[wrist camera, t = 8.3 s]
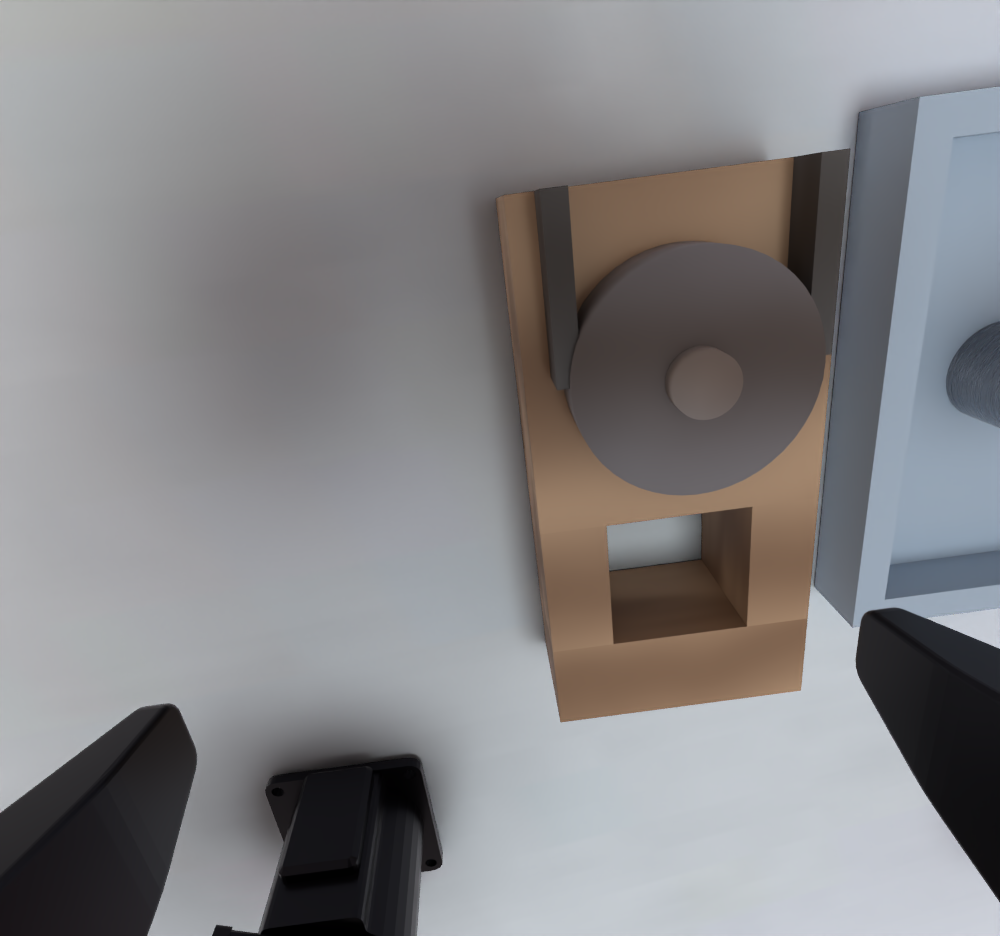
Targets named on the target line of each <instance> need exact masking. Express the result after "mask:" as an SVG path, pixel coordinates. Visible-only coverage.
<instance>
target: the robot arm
mask: <svg viewBox="0 0 1000 936" xmlns="http://www.w3.org/2000/svg"><path fill="white" fill-rule="evenodd" d="M856 669H857V673H858V676H859V678H860V680H861V682H862V684H863V686H864V688H865V690H866V691H867V693H868V695H869V697H870V698H871V700H872V702H873V704H874V706H875V707H876V709H877V711H878V713H879V714H880V716H881V718H882V720H883V722H884V723H885V725H886V727H887V729H888V730H889V732H890V734H891V736H892V738H893V739H894V741H895V743H896V745H897V746H898V748H899V750H900V752H901V754H902V755H903V757H904V759H905V761H906V762H907V764H908V766H909V768H910V770H911V771H912V773H913V775H914V776H915V778H916V780H917V781H918V783H919V785H920V786H921V788H922V790H923V791H924V793H925V794H926V796H927V797H928V799H929V800H930V802H931V803H932V805H933V806H934V808H935V809H936V811H937V812H938V814H939V815H940V817H941V818H942V820H943V821H944V823H945V824H946V825H947V827H948V828H949V830H950V831H951V833H952V834H953V835H954V837H955V838H956V840H957V841H958V843H959V844H960V846H961V847H962V848H963V850H964V851H965V853H966V854H967V856H968V857H969V859H970V860H971V861H972V863H973V864H974V866H975V867H976V869H977V870H978V872H979V873H980V874H981V876H982V877H983V879H984V880H985V882H986V883H987V884H988V886H989V887H990V889H991V890H992V892H993V893H994V895H995V896H996V897H997V899H998V900H999V902H1000V649H999V648H996V647H994V646H991V645H989V644H986V643H984V642H982V641H979V640H977V639H974V638H972V637H970V636H967V635H965V634H962V633H960V632H957V631H955V630H953V629H950V628H948V627H945V626H943V625H941V624H938V623H936V622H933V621H931V620H928V619H926V618H924V617H921V616H919V615H916V614H914V613H912V612H909V611H907V610H904V609H902V608H897V607H892V608H884V609H877V610H870V611H868V612H866V613H865V614H864V615H863V616H862V619H861V623H860V631H859V638H858V646H857V653H856ZM196 765H197V753H196V749H195V746H194V743H193V741H192V738H191V736H190V734H189V731H188V729H187V727H186V724H185V722H184V720H183V717H182V715H181V713H180V711H179V709H178V708H177V707H176V706H175V705H173V704H160V705H152V706H145V707H142V708H139V709H137V710H136V711H134V712H133V713H132V714H130V715H129V716H128V717H126V718H125V719H124V720H122V721H121V722H120V723H119V724H117V725H116V726H115V727H113V728H112V729H111V730H109V731H108V732H107V733H105V734H104V735H103V736H101V737H100V738H99V739H97V740H96V741H95V742H93V743H92V744H91V745H89V746H88V747H87V748H85V749H84V750H83V751H82V752H80V753H79V754H78V755H76V756H75V757H74V758H72V759H71V760H70V761H68V762H67V763H66V764H64V765H63V766H62V767H60V768H59V769H58V770H56V771H55V772H54V773H52V774H51V775H50V776H48V777H47V778H46V779H44V780H43V781H42V782H41V783H39V784H38V785H37V786H35V787H34V788H33V789H31V790H30V791H29V792H27V793H26V794H25V795H23V796H22V797H21V798H19V799H18V800H17V801H15V802H14V803H13V804H11V805H10V806H9V807H7V808H6V809H5V810H4V811H2V812H1V813H0V936H147V934H148V932H149V929H150V926H151V924H152V921H153V918H154V915H155V912H156V910H157V907H158V904H159V901H160V898H161V895H162V892H163V889H164V885H165V882H166V879H167V875H168V872H169V868H170V864H171V861H172V857H173V853H174V849H175V846H176V842H177V838H178V834H179V831H180V827H181V823H182V819H183V816H184V812H185V808H186V804H187V801H188V797H189V793H190V789H191V785H192V782H193V778H194V774H195V770H196ZM407 770H412V771H407ZM265 791H266V796H267V798H268V801H269V804H270V806H271V809H272V812H273V814H274V817H275V819H276V822H277V825H278V827H279V830H280V833H281V835H282V838H283V841H284V845H283V848H282V852H281V855H280V859H279V862H278V866H277V869H276V873H275V876H274V880H273V883H272V887H271V890H270V894H269V897H268V901H267V904H266V907H265V911H264V914H263V918H262V921H261V925H260V928H259V932H258V933H250V932H243V931H235V930H232V927H230V926H222V925H216V927H215V930H214V932H213V935H212V936H417V925H418V910H419V896H420V881H421V872H424V871H431V870H436V869H438V868H440V867H441V865H442V854H443V853H442V848H441V844H440V840H439V835H438V831H437V827H436V823H435V818H434V814H433V810H432V805H431V801H430V797H429V792H428V788H427V784H426V780H425V775H424V771H423V767H422V764H421V762H420V761H419V760H417V759H415V758H404V759H396V760H389V761H381V762H374V763H366V764H358V765H351V766H343V767H336V768H328V769H321V770H313V771H306V772H298V773H290V774H283V775H276V776H273V777H272V778H270V780H269V782H268V784H267V787H266V790H265Z"/></svg>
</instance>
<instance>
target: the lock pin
mask: <svg viewBox="0 0 1000 936" xmlns="http://www.w3.org/2000/svg"><path fill="white" fill-rule="evenodd" d="M946 391H947V395H948V398H949V400H950V402H951V403H952V405H953V406H954V407H955V408H956V409H957V410H958V411H960V412H962V413H963V414H966V415H968V416H971V417H973V418H975V419H978V420H980V421H983V422H985V423H988V424H990V425H993V426H995V427H997V428H1000V321H999V322H996V323H993V324H990V325H988V326H986V327H984V328H982V329H980V330H979V331H977V332H976V333H974V334H973V335H972V336H971V337H970V338H968V339H967V340H966V341H965V342H964V343H963V345H962V346H961V347H960V348H959V349H958V351H957V352H956V354H955V355H954V357H953V359H952V361H951V363H950V366H949V368H948V372H947V376H946Z"/></svg>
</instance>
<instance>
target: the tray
mask: <svg viewBox="0 0 1000 936" xmlns="http://www.w3.org/2000/svg"><path fill="white" fill-rule="evenodd" d="M999 321H1000V86H999V87H991V88H984V89H976V90H968V91H961V92H953V93H945V94H938V95H930V96H922V97H917V98H913V99H909V100H906V101H902V102H898V103H894V104H890V105H886V106H882V107H878V108H874V109H870V110H867V111H863V112H859V122H858V132H857V143H856V154H855V164H854V175H853V185H852V196H851V206H850V217H849V228H848V238H847V249H846V259H845V270H844V281H843V291H842V302H841V312H840V323H839V333H838V344H837V355H836V365H835V376H834V386H833V397H832V408H831V418H830V429H829V439H828V450H827V461H826V471H825V482H824V492H823V503H822V513H821V524H820V535H819V545H818V556H817V566H816V577H815V588H816V589H817V590H818V591H819V592H820V593H821V594H822V595H823V596H824V598H825V599H826V600H827V601H828V602H829V603H830V604H831V605H832V606H833V607H834V608H835V609H836V610H837V611H838V613H839V614H840V615H841V616H842V617H843V618H844V619H845V620H846V621H847V622H848V623H849V624H850V625H851V626H852V628H853V627H860V623H861V619H862V616H863V615H864V614H865V613H866V612H868V611H870V610H877V609H884V608H892V607H897V608H902V609H904V610H907V611H909V612H912V613H914V614H916V615H919V616H921V617H924V618H928V617H936V616H944V615H951V614H959V613H966V612H974V611H981V610H989V609H996V608H1000V428H997V427H995V426H993V425H990V424H988V423H985V422H983V421H980V420H978V419H975V418H973V417H971V416H968V415H966V414H963V413H962V412H960V411H958V410H957V409H956V408H955V407H954V406H953V405H952V403H951V402H950V400H949V398H948V395H947V391H946V376H947V372H948V368H949V366H950V363H951V361H952V359H953V357H954V355H955V354H956V352H957V351H958V349H959V348H960V347H961V346H962V345H963V343H964V342H965V341H966V340H967V339H968V338H970V337H971V336H972V335H973V334H974V333H976V332H977V331H979V330H980V329H982V328H984V327H986V326H988V325H990V324H993V323H996V322H999Z"/></svg>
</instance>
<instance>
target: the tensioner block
mask: <svg viewBox="0 0 1000 936" xmlns="http://www.w3.org/2000/svg"><path fill="white" fill-rule="evenodd" d="M849 157H850V149H843V150H835V151H828V152H821V153H815V154H809V155H803V156H797V157H791V158H783V159H775V160H768V161H760V162H752V163H745V164H737V165H730V166H722V167H714V168H707V169H699V170H691V171H684V172H676V173H668V174H661V175H653V176H646V177H638V178H630V179H623V180H615V181H607V182H600V183H592V184H584V185H577V186H569V187H568V186H561V187H553V188H545V189H539V190H536V191H531V192H523V193H516V194H508V195H503V196H501V197H499V198H496V206H497V215H498V224H499V233H500V242H501V251H502V259H503V268H504V277H505V286H506V295H507V304H508V313H509V321H510V330H511V339H512V348H513V357H514V366H515V375H516V383H517V392H518V401H519V410H520V419H521V428H522V437H523V445H524V454H525V463H526V472H527V481H528V490H529V499H530V507H531V516H532V525H533V534H534V543H535V552H536V561H537V569H538V578H539V587H540V596H541V605H542V614H543V623H544V631H545V640H546V647H547V652H548V658H549V663H550V668H551V674H552V679H553V684H554V690H555V695H556V700H557V706H558V711H559V716H560V722H566V721H574V720H582V719H589V718H597V717H604V716H612V715H619V714H627V713H634V712H642V711H650V710H657V709H665V708H672V707H680V706H687V705H695V704H702V703H710V702H718V701H725V700H733V699H740V698H748V697H755V696H763V695H770V694H778V693H785V692H793V691H801V683H802V672H803V661H804V651H805V640H806V629H807V618H808V607H809V596H810V585H811V574H812V563H813V552H814V541H815V530H816V519H817V508H818V497H819V486H820V475H821V464H822V453H823V442H824V431H825V420H826V409H827V398H828V388H829V377H830V366H831V355H832V344H833V333H834V322H835V311H836V300H837V289H838V278H839V267H840V256H841V245H842V234H843V223H844V212H845V201H846V190H847V179H848V168H849ZM700 513H702V550H701V560H694V561H687V562H679V563H671V564H664V565H656V566H649V567H641V568H634V569H626V570H618V571H611V572H609V561H608V544H607V528H606V526H609V525H617V524H624V523H632V522H639V521H647V520H654V519H662V518H670V517H677V516H685V515H692V514H700Z"/></svg>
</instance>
